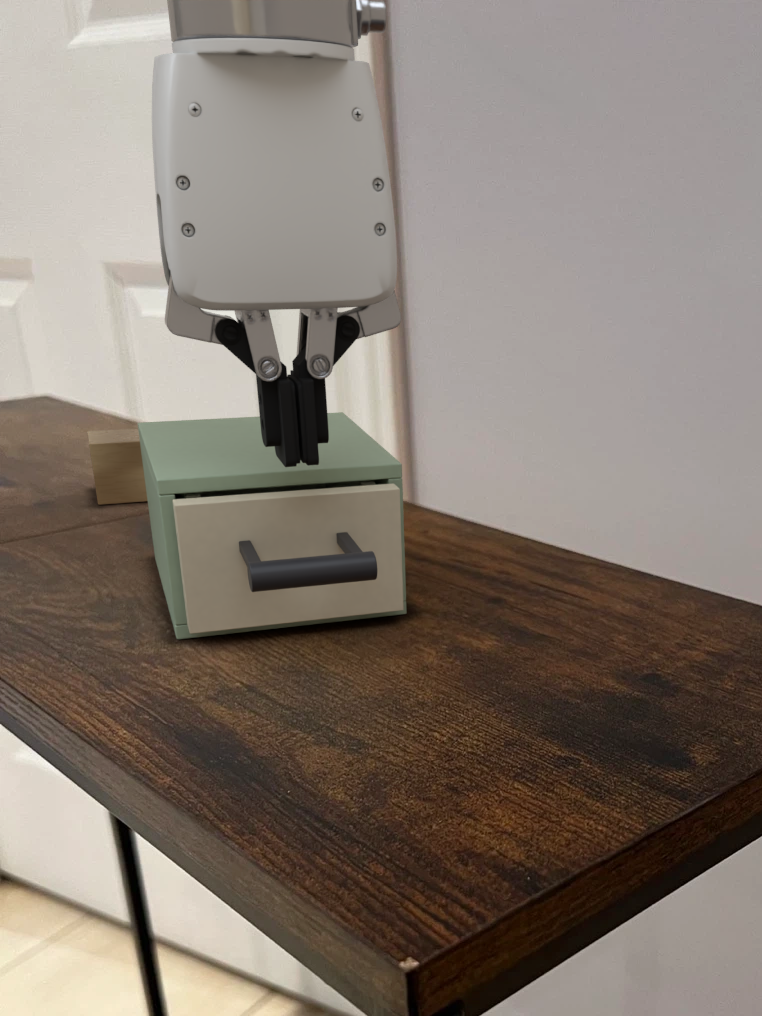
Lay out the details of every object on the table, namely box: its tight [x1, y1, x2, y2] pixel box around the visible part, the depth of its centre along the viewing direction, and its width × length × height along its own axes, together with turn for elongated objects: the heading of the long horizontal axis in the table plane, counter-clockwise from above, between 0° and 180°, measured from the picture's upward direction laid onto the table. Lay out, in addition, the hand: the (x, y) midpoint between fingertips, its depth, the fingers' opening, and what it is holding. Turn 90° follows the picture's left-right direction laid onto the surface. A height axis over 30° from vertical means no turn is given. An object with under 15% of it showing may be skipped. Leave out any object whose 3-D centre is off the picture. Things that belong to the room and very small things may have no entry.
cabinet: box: [137, 412, 408, 640], centre depth 67 cm, size 15×13×9 cm
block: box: [86, 428, 148, 506], centre depth 86 cm, size 4×4×4 cm
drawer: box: [172, 480, 404, 634], centre depth 63 cm, size 19×11×7 cm, turn 21°
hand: (296, 459), depth 56 cm, fingers closed
